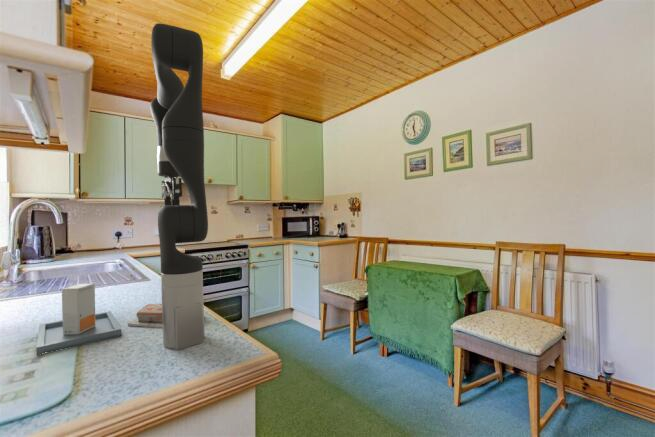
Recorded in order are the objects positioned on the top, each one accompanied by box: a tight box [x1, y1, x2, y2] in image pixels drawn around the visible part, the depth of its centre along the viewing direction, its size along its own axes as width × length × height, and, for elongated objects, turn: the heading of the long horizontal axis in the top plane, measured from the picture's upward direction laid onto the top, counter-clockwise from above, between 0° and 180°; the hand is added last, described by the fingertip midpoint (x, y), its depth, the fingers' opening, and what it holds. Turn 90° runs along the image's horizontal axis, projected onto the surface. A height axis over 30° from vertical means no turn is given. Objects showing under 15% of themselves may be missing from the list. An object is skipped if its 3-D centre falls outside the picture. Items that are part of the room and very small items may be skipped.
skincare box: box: [61, 283, 96, 335], centre depth 83 cm, size 6×4×12 cm
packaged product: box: [127, 303, 163, 329], centre depth 91 cm, size 18×5×10 cm
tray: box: [36, 310, 122, 356], centre depth 83 cm, size 20×16×2 cm
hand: (172, 211), depth 102 cm, fingers open, 8 cm apart
